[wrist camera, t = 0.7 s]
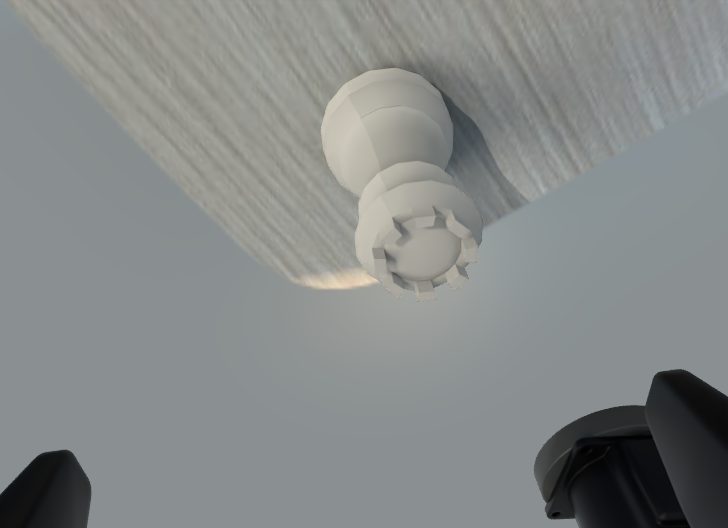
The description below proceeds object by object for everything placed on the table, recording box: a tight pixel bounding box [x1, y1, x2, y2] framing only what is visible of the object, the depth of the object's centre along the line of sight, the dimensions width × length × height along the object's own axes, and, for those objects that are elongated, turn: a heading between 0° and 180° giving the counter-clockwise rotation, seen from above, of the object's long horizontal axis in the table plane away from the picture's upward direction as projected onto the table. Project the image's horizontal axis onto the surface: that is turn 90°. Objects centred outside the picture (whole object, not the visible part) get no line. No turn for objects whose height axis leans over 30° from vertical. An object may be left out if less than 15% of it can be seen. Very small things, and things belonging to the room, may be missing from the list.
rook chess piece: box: [321, 68, 483, 302], centre depth 17 cm, size 4×4×8 cm
